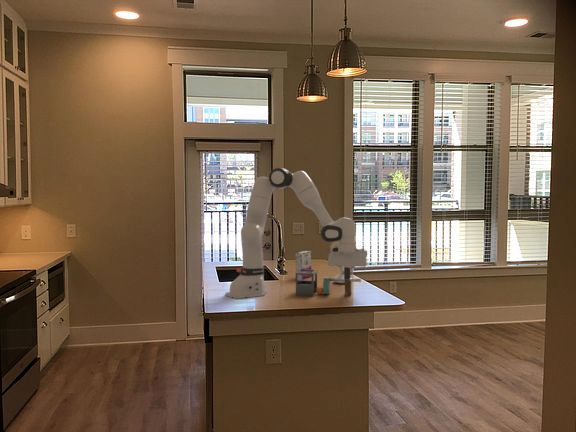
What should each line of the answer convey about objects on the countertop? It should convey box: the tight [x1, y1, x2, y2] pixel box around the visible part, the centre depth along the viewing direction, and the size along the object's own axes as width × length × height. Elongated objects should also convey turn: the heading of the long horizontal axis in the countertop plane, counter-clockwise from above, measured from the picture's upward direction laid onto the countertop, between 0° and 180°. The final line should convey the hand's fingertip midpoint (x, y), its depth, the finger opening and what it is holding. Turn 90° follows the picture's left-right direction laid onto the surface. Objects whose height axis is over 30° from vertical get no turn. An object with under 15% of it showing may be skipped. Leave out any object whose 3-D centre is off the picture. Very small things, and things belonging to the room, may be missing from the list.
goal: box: [295, 269, 318, 297], centre depth 269 cm, size 10×12×12 cm
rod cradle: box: [344, 280, 352, 297], centre depth 264 cm, size 3×5×8 cm, turn 168°
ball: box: [315, 286, 323, 295], centre depth 268 cm, size 4×4×4 cm
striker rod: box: [322, 266, 362, 295], centre depth 265 cm, size 20×6×14 cm, turn 78°
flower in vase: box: [329, 241, 352, 284], centre depth 298 cm, size 13×11×25 cm
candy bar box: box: [294, 250, 313, 280], centre depth 317 cm, size 11×5×16 cm, turn 143°
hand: (347, 274), depth 264 cm, fingers closed on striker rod, 3 cm apart
